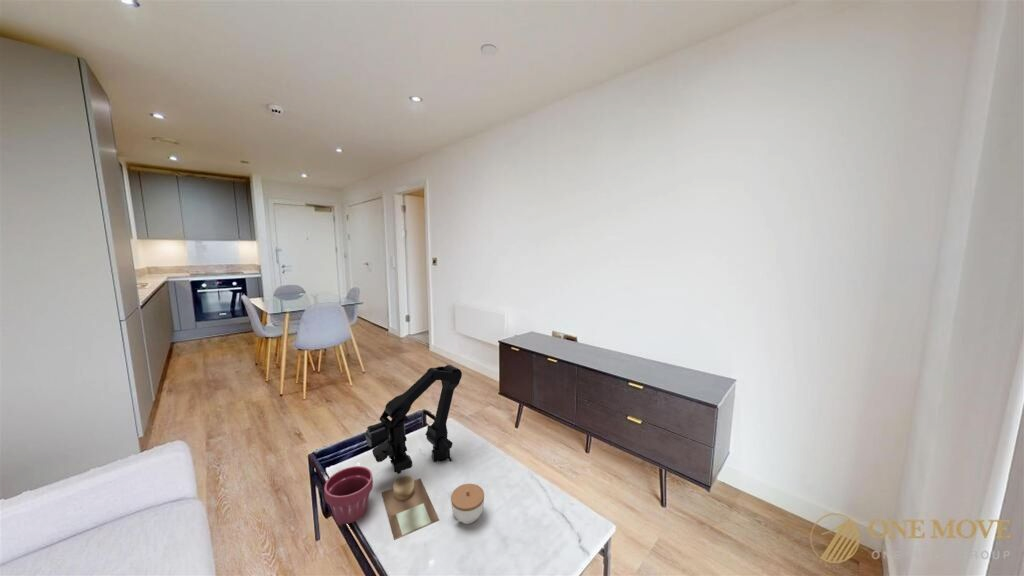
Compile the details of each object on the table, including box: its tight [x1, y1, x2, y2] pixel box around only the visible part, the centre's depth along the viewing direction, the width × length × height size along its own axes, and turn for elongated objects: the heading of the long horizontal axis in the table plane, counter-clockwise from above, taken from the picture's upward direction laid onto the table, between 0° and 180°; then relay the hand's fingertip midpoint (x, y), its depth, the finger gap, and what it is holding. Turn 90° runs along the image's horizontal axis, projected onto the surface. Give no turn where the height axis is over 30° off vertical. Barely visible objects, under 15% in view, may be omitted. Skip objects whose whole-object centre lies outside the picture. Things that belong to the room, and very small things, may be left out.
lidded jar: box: [450, 483, 485, 525], centre depth 109 cm, size 11×11×9 cm
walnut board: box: [380, 478, 440, 541], centre depth 113 cm, size 14×22×1 cm, turn 31°
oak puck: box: [392, 475, 415, 501], centre depth 118 cm, size 7×7×4 cm
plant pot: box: [323, 465, 374, 527], centre depth 109 cm, size 14×14×13 cm
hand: (398, 473), depth 125 cm, fingers closed
